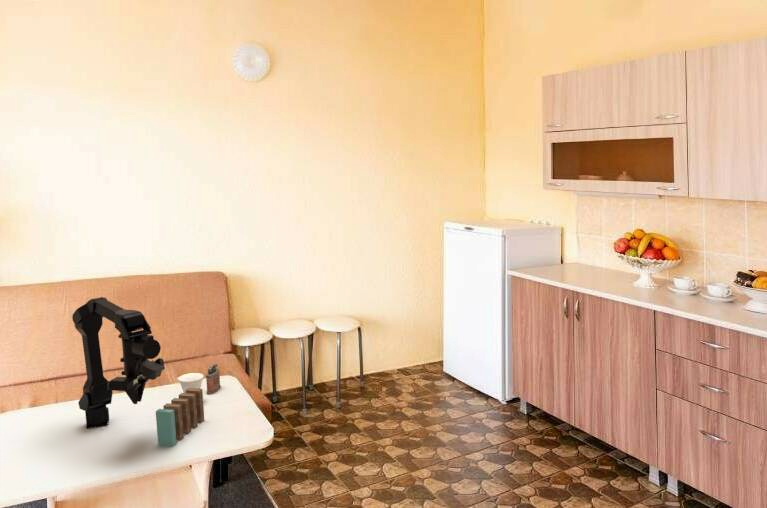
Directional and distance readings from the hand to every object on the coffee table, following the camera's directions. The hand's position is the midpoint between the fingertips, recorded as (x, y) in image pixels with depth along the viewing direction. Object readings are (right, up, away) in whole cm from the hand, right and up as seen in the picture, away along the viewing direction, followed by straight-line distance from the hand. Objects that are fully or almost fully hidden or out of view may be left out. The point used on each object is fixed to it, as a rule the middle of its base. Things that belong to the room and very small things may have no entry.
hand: (137, 402), depth 185 cm
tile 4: (+10, -12, +4) cm, 16 cm away
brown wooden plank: (+12, -11, +13) cm, 21 cm away
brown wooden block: (+11, -12, +9) cm, 18 cm away
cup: (+6, -9, +34) cm, 35 cm away
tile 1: (+13, -10, +18) cm, 24 cm away
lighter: (+11, -7, +45) cm, 47 cm away
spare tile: (+9, -13, 0) cm, 16 cm away
